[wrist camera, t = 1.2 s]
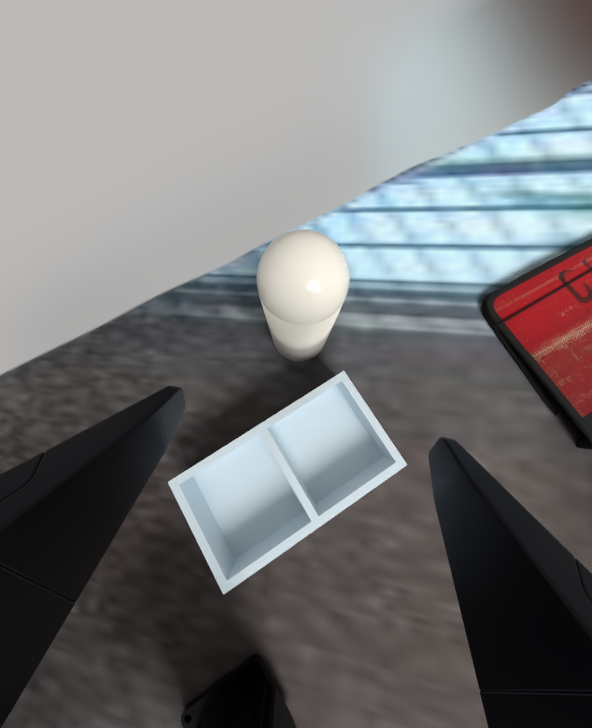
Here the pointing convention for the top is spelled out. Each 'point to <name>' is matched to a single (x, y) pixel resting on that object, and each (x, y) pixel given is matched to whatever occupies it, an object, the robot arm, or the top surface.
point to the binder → (552, 332)
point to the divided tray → (284, 479)
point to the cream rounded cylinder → (302, 291)
